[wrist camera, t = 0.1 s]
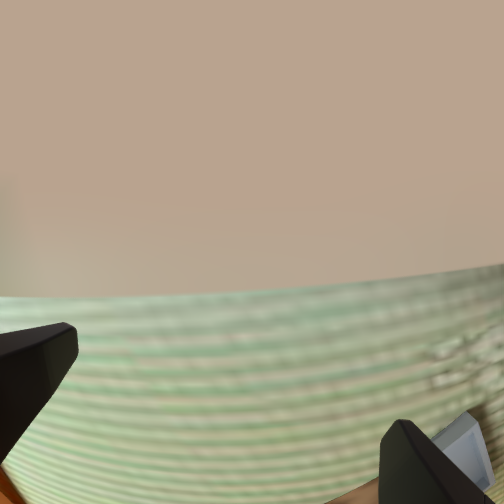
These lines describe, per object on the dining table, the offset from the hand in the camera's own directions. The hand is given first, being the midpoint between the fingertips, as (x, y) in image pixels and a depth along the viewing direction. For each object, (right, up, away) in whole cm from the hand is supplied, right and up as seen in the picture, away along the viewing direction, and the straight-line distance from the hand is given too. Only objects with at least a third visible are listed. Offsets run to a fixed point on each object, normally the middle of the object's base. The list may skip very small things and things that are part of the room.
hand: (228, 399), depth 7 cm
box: (+22, -21, +14) cm, 33 cm away
